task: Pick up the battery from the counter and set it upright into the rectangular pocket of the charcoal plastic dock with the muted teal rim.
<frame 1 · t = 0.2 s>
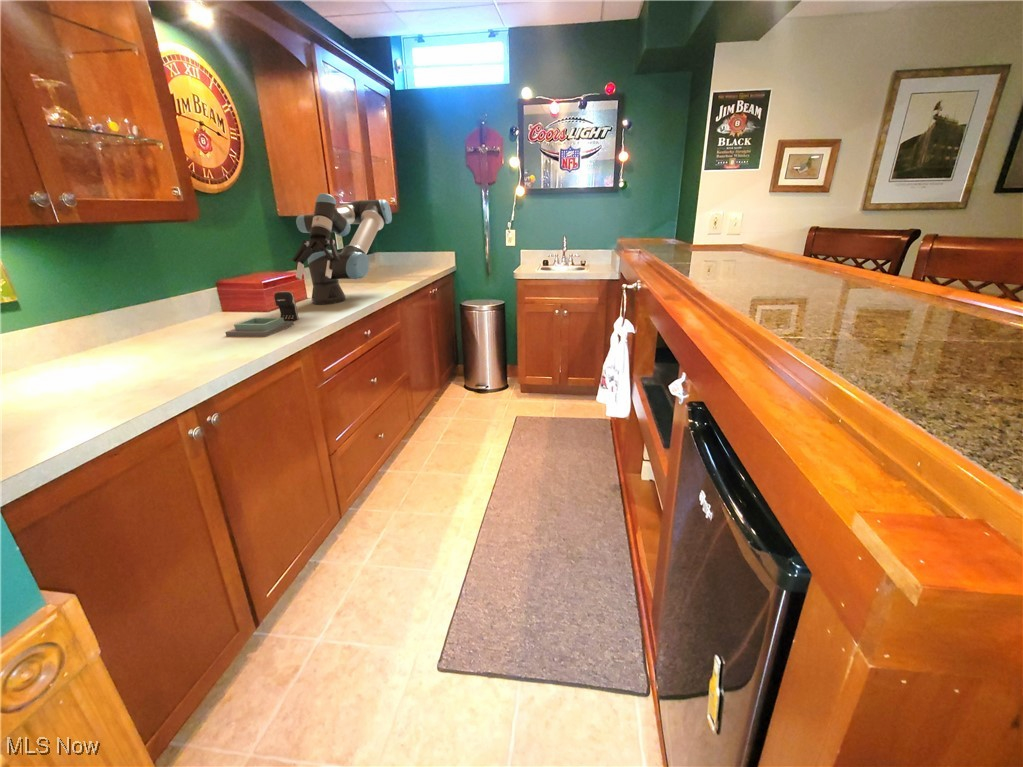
hand: (313, 277, 175), 16 cm above the worktop, fingers open, 13 cm apart
dock: (261, 330, 162), on the worktop
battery: (289, 320, 175), on the worktop
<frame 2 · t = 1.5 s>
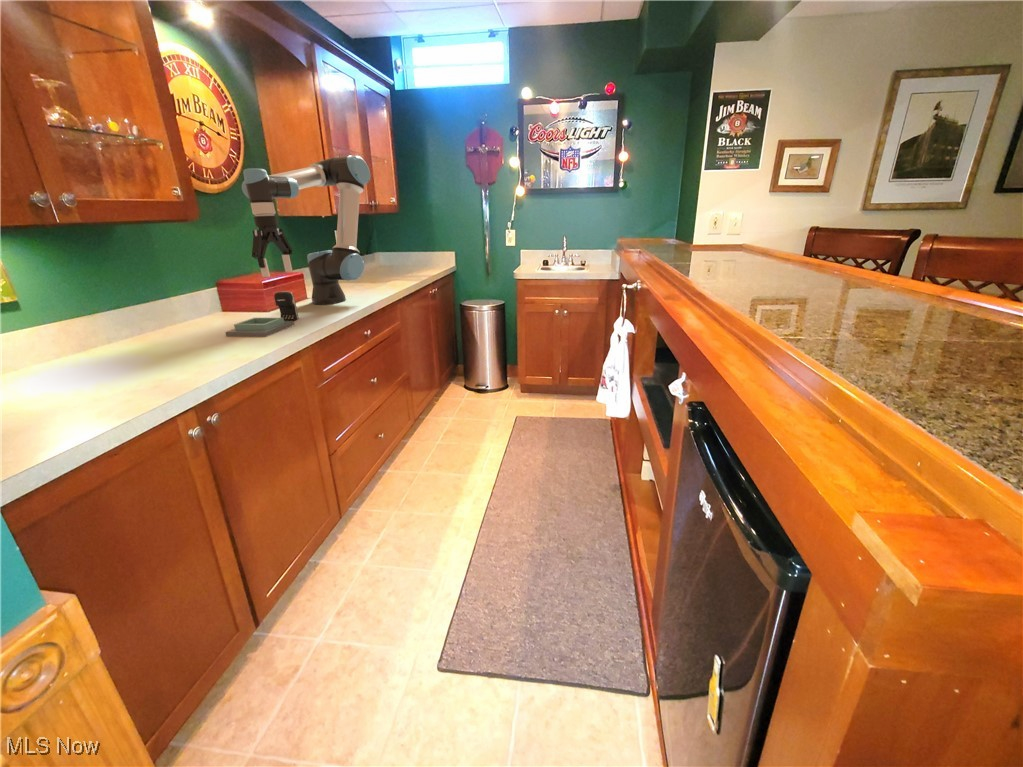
hand: (278, 274, 168), 18 cm above the worktop, fingers open, 13 cm apart
nothing on the worktop moved.
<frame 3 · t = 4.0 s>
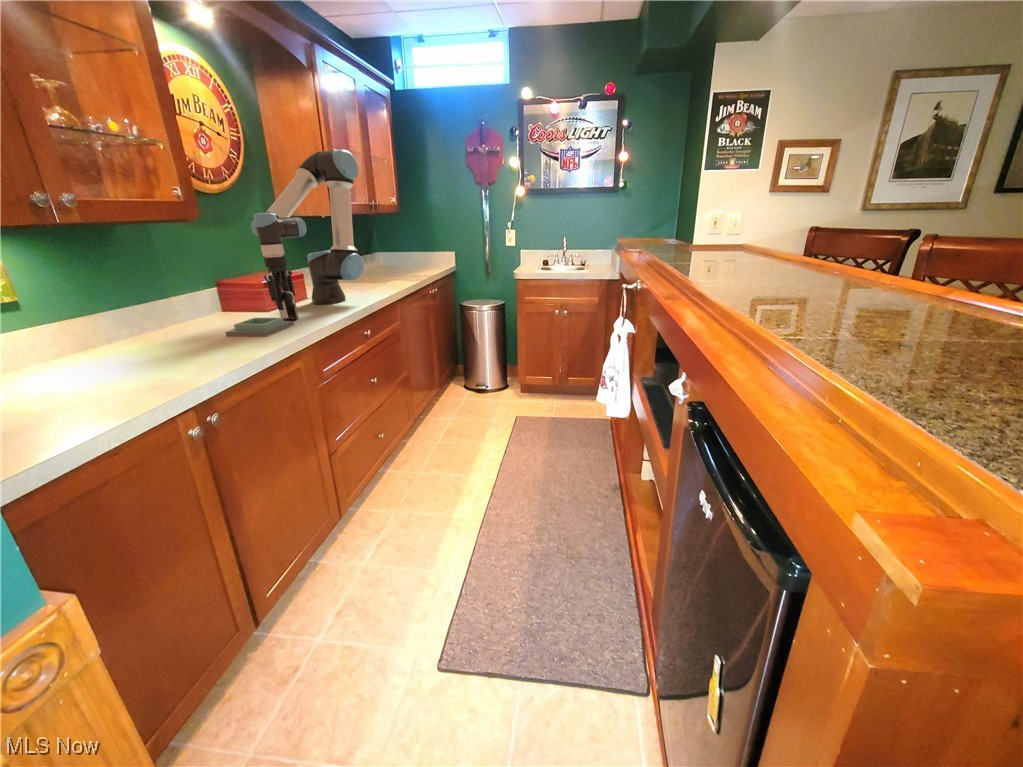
hand: (288, 316, 175), 2 cm above the worktop, fingers closed on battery, 4 cm apart
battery: (289, 320, 175), on the worktop, touching gripper
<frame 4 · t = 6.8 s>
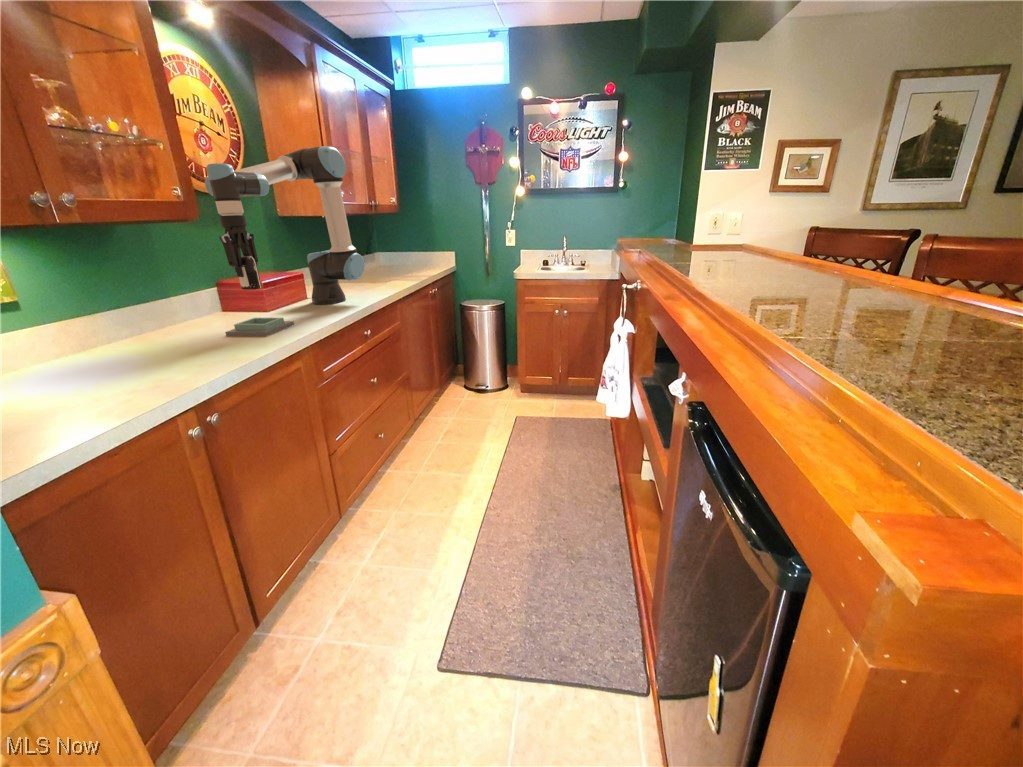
hand: (249, 284, 156), 17 cm above the worktop, fingers closed on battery, 4 cm apart
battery: (251, 290, 156), point 15 cm above the worktop, touching gripper
when the fingers open (6 cm above the worktop, at t = 9.4 s): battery drops 2 cm, resting on dock.
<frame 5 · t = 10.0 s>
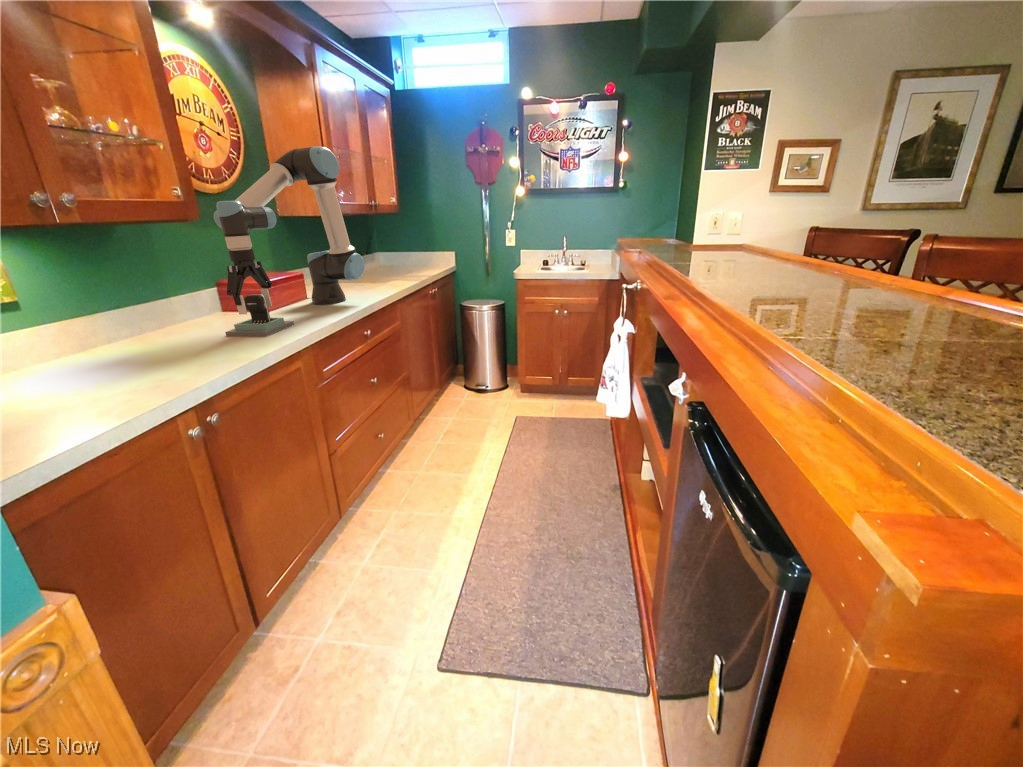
hand: (256, 310, 159), 8 cm above the worktop, fingers open, 13 cm apart
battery: (261, 326, 161), point 1 cm above the worktop, touching dock
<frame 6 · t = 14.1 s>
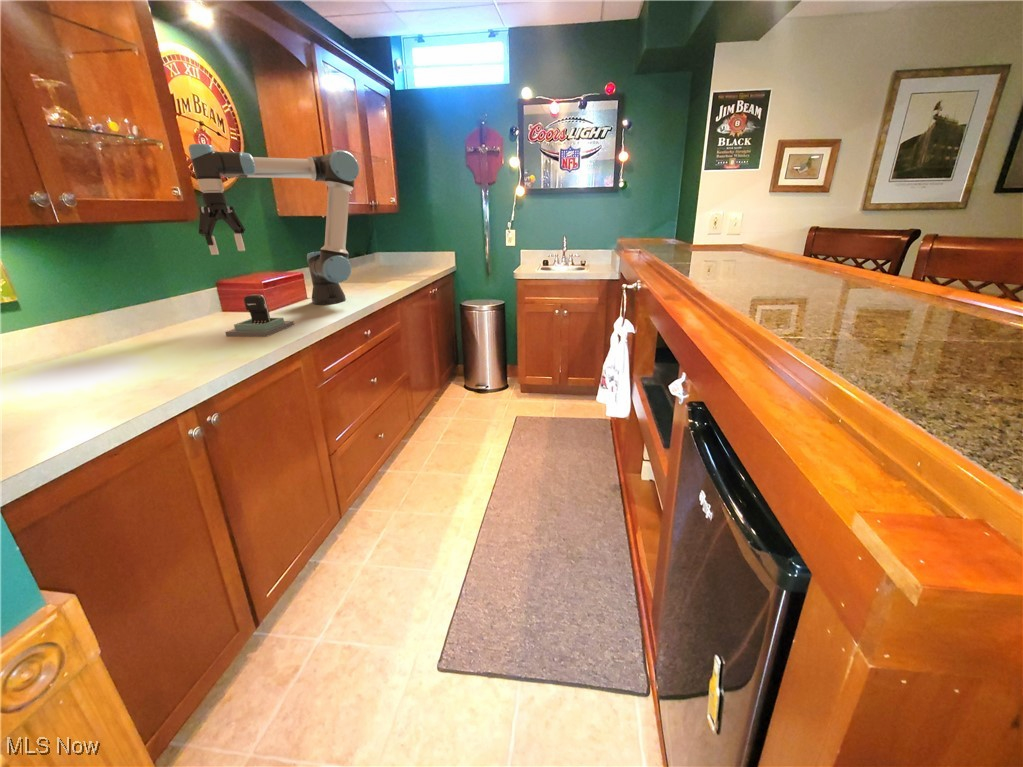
hand: (229, 252, 167), 27 cm above the worktop, fingers open, 13 cm apart
nothing on the worktop moved.
at the end: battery 0.2 cm off-centre on the dock, point 1.3 cm above the dock's base; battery tilted 0°; the gripper is holding nothing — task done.
